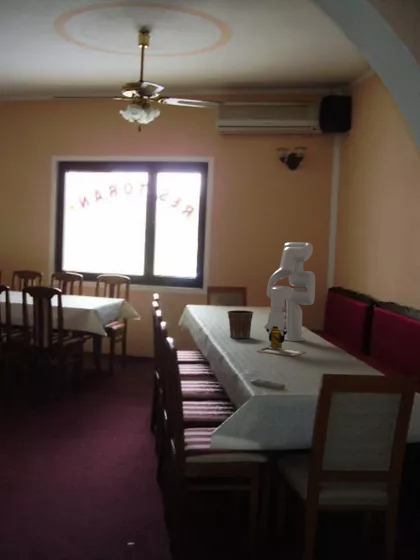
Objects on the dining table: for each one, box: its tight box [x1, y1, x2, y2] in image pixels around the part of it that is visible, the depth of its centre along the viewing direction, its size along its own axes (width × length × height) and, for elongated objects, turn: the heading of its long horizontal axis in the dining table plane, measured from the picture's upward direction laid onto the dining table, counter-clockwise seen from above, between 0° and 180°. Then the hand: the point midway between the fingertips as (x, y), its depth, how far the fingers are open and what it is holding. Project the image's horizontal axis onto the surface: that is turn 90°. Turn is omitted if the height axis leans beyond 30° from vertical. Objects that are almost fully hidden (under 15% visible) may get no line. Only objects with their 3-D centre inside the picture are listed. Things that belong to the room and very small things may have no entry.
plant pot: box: [226, 309, 254, 340], centre depth 354 cm, size 16×16×16 cm
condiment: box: [266, 326, 285, 349], centre depth 316 cm, size 7×8×12 cm
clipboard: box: [257, 346, 307, 358], centre depth 311 cm, size 15×22×1 cm
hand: (276, 341), depth 316 cm, fingers closed on condiment, 6 cm apart
